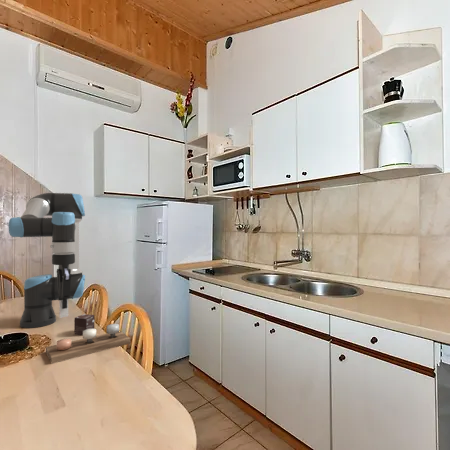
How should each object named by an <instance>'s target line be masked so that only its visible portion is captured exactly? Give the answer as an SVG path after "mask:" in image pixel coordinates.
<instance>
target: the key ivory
mask: <svg viewBox="0 0 450 450" xmlns="http://www.w3.org/2000/svg"><path fill="white" fill-rule="evenodd" d="M96 336H97V329H96V328H94V329H86V330H84V331H83V335H82V339H87V343H91V342H92V338H95V337H96Z"/></svg>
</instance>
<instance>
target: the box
mask: <svg viewBox="0 0 450 450" xmlns="http://www.w3.org/2000/svg"><path fill="white" fill-rule="evenodd" d="M73 322H74V329H73V330H74V335H79V336H80V335H82V336H83V331H84V330H86V329H95V314H88V313H87V314H85V313H84V314H81V315H78V316H76V317H74V319H73Z"/></svg>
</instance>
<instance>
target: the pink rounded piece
mask: <svg viewBox="0 0 450 450" xmlns="http://www.w3.org/2000/svg"><path fill="white" fill-rule="evenodd" d="M71 341H72V339H71V338H61V339H59V340H57V341H56V345H57V350H61V351H62V350H66V349H68V348H70V347H71Z"/></svg>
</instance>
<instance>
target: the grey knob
mask: <svg viewBox="0 0 450 450" xmlns="http://www.w3.org/2000/svg"><path fill="white" fill-rule="evenodd" d="M119 331H120V324H118V323H111V324H107V325H106V333H108V334H110V337H115V333H117V332H119Z"/></svg>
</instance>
